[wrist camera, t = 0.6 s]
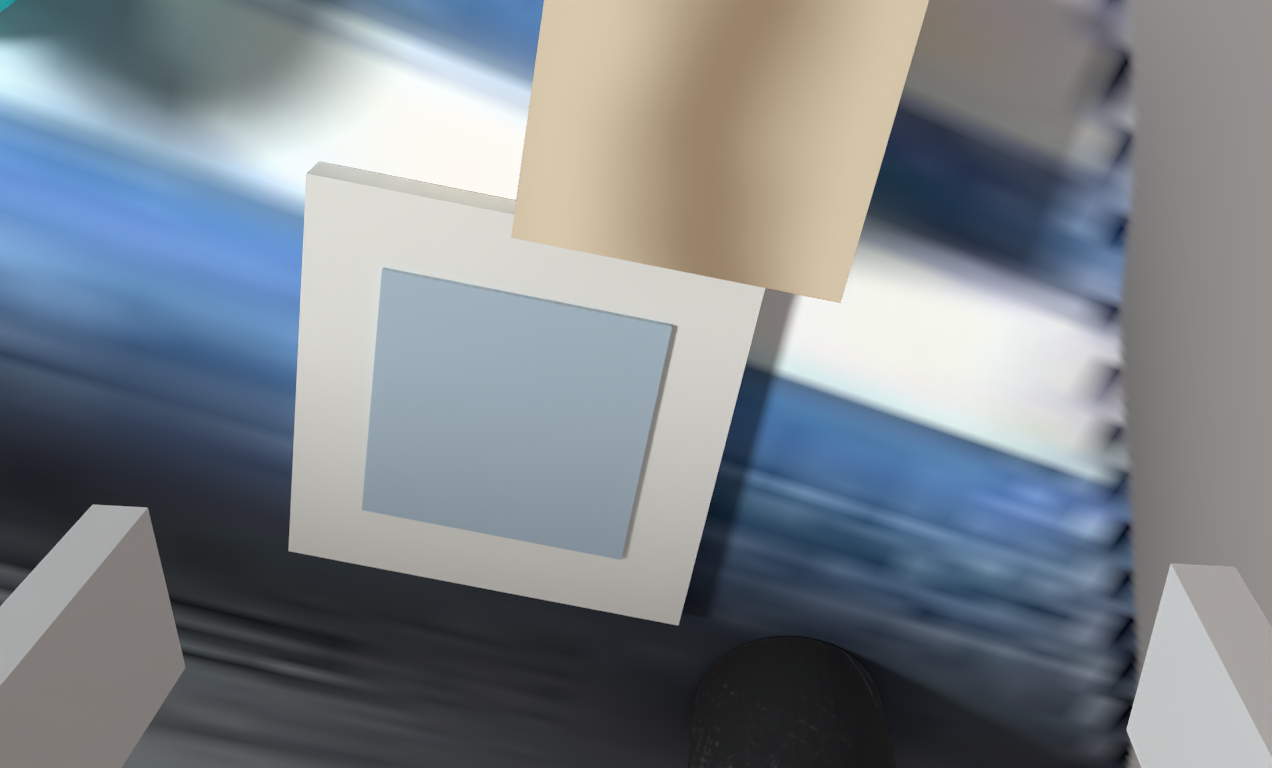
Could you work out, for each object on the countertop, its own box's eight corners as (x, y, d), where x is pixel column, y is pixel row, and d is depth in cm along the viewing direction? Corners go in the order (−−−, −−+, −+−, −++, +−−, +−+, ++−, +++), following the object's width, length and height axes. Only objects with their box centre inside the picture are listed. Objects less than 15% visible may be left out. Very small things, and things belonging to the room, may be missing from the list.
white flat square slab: (299, 531, 42) (286, 554, 41) (319, 161, 35) (304, 175, 34) (679, 603, 42) (678, 629, 41) (770, 251, 36) (771, 268, 34)
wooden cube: (555, 142, 35) (511, 237, 28) (599, -148, 31) (561, -124, 24) (817, 194, 35) (840, 303, 28) (893, -87, 31) (942, -45, 24)
